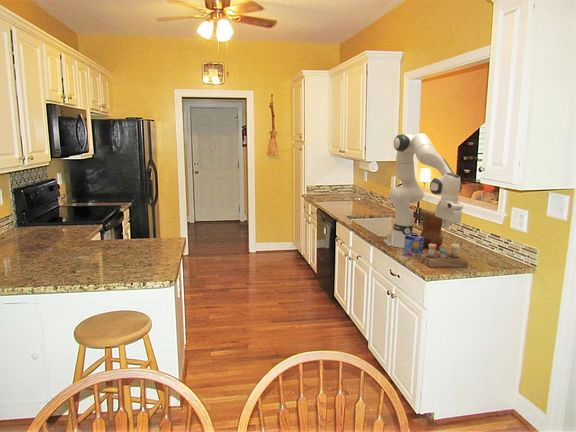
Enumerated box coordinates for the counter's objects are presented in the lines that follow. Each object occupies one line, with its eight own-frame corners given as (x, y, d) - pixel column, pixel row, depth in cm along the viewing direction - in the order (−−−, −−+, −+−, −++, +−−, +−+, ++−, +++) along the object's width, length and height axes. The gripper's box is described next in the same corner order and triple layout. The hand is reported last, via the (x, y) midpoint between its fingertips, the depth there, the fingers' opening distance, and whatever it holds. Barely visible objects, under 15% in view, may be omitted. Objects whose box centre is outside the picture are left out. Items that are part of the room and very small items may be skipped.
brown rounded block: (438, 246, 285) (442, 209, 280) (443, 251, 272) (448, 212, 267) (417, 245, 286) (420, 207, 282) (421, 249, 273) (425, 210, 269)
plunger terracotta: (426, 255, 241) (427, 243, 240) (432, 255, 242) (434, 243, 240) (429, 257, 237) (431, 245, 236) (436, 257, 238) (437, 245, 237)
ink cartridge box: (402, 255, 257) (405, 231, 254) (406, 253, 261) (409, 230, 259) (418, 258, 251) (421, 234, 248) (422, 257, 255) (425, 233, 253)
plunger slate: (437, 260, 243) (438, 247, 241) (443, 260, 243) (444, 247, 242) (440, 262, 239) (442, 249, 238) (447, 262, 240) (448, 249, 238)
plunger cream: (448, 255, 244) (450, 243, 242) (455, 255, 244) (456, 243, 243) (452, 257, 240) (454, 245, 239) (459, 257, 241) (460, 245, 239)
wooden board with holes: (417, 260, 246) (418, 253, 245) (452, 260, 250) (453, 253, 250) (430, 267, 232) (431, 260, 232) (467, 267, 237) (467, 260, 236)
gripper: (433, 200, 245) (430, 223, 248) (454, 206, 225) (450, 232, 228) (444, 200, 246) (440, 224, 249) (465, 206, 227) (461, 232, 229)
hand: (445, 228), depth 238 cm, fingers closed
